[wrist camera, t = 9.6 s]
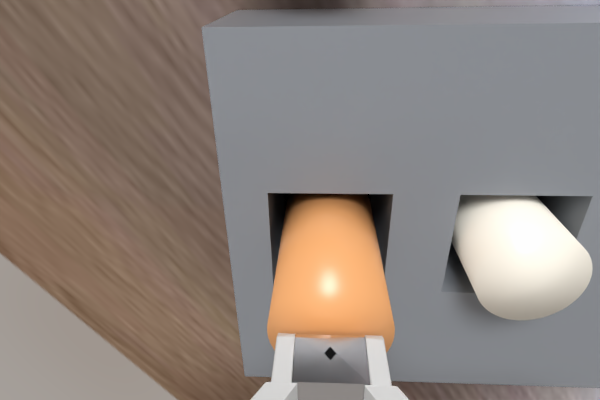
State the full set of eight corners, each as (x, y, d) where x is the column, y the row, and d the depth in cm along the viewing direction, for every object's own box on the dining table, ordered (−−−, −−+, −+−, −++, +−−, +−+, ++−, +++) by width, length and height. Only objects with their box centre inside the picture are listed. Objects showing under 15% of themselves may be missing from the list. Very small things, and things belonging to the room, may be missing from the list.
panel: (778, 2, 17) (988, 18, 11) (629, 301, 24) (712, 391, 19) (237, 10, 18) (201, 27, 12) (261, 292, 26) (244, 375, 20)
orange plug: (374, 174, 17) (401, 285, 11) (368, 247, 19) (388, 377, 13) (284, 173, 18) (263, 282, 11) (287, 246, 19) (270, 373, 13)
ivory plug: (518, 151, 19) (609, 235, 13) (500, 219, 21) (572, 321, 15) (436, 150, 19) (487, 233, 13) (425, 218, 21) (466, 318, 15)
